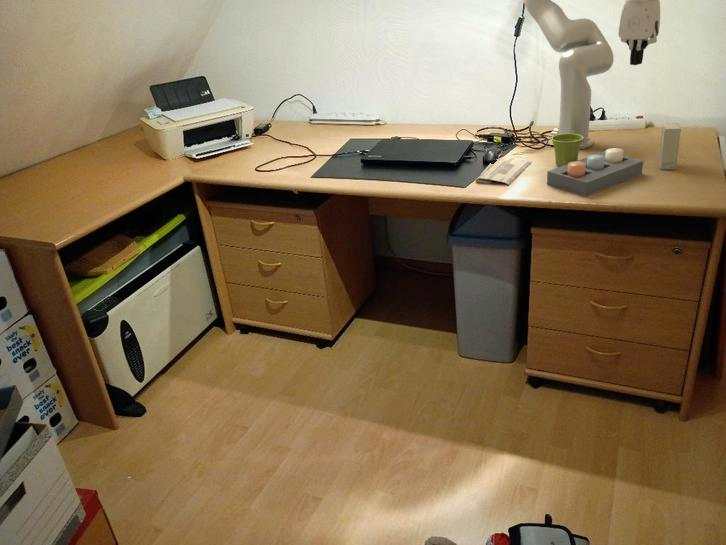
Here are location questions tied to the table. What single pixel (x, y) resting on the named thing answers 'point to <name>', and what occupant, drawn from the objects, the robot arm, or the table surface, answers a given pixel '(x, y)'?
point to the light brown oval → (576, 169)
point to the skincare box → (669, 146)
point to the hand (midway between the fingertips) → (635, 64)
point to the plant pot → (566, 148)
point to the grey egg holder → (595, 176)
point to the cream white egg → (614, 155)
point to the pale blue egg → (595, 162)
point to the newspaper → (504, 170)
